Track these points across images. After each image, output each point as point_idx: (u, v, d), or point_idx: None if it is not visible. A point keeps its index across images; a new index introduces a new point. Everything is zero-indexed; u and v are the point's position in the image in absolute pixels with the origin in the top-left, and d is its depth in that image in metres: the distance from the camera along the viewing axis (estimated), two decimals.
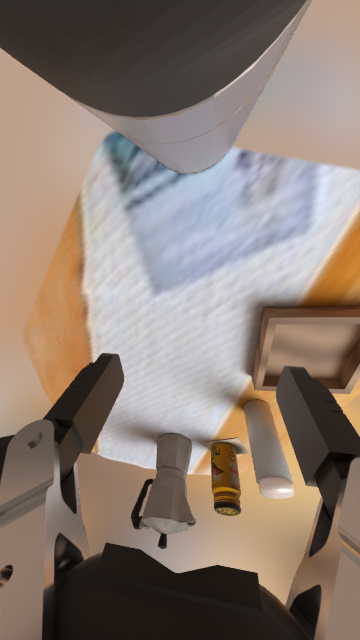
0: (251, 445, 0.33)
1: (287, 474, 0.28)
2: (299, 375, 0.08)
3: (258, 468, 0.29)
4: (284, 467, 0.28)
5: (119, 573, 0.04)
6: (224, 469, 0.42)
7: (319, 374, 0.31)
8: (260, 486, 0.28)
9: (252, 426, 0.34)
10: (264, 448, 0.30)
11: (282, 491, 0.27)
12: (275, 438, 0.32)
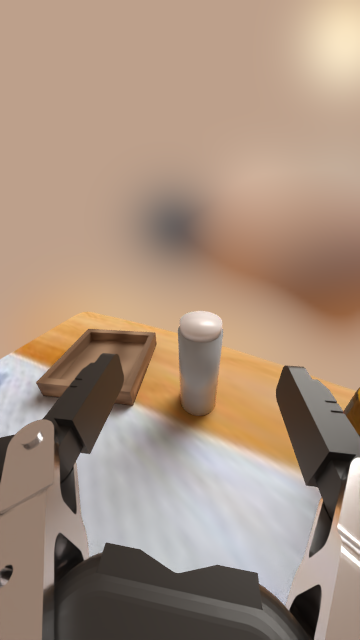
0: (194, 375, 0.22)
1: None
2: (299, 375, 0.08)
3: (187, 349, 0.21)
4: None
5: (119, 573, 0.04)
6: None
7: (140, 353, 0.36)
8: (194, 335, 0.19)
9: (185, 386, 0.24)
10: (179, 357, 0.23)
11: (194, 317, 0.22)
12: None
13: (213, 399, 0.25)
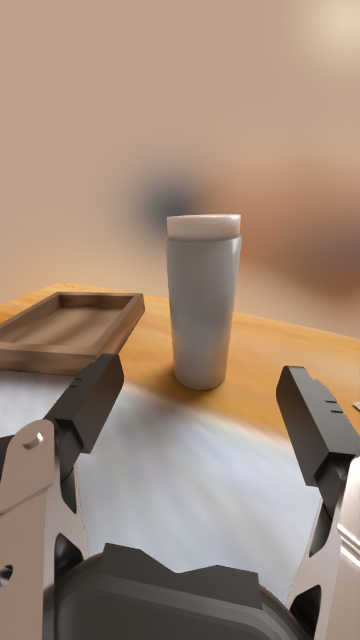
0: (193, 315, 0.13)
1: None
2: (299, 375, 0.08)
3: (180, 261, 0.12)
4: None
5: (119, 573, 0.04)
6: None
7: None
8: (192, 225, 0.11)
9: (179, 341, 0.15)
10: (169, 290, 0.14)
11: None
12: None
13: (223, 364, 0.16)
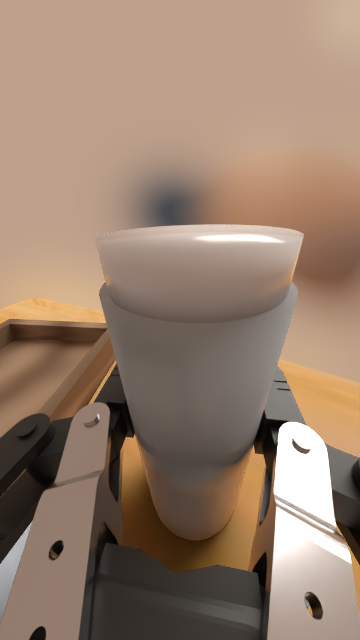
0: (172, 460, 0.06)
1: None
2: None
3: (131, 362, 0.04)
4: None
5: (119, 573, 0.04)
6: None
7: None
8: (155, 273, 0.03)
9: (149, 476, 0.08)
10: None
11: (172, 230, 0.05)
12: None
13: (236, 498, 0.09)
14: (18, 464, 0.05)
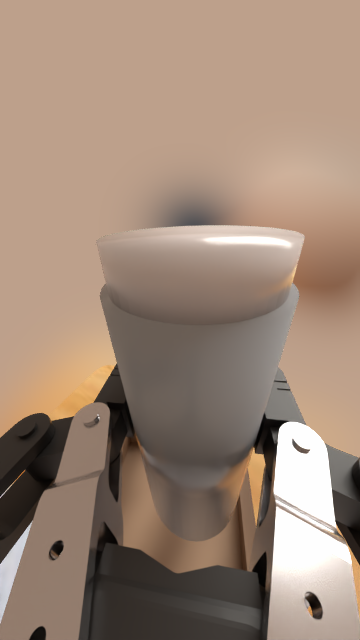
0: (173, 461, 0.06)
1: None
2: None
3: (132, 362, 0.04)
4: None
5: (119, 573, 0.04)
6: None
7: None
8: (155, 275, 0.03)
9: (150, 477, 0.08)
10: None
11: (173, 231, 0.05)
12: None
13: (236, 499, 0.09)
14: (18, 464, 0.05)
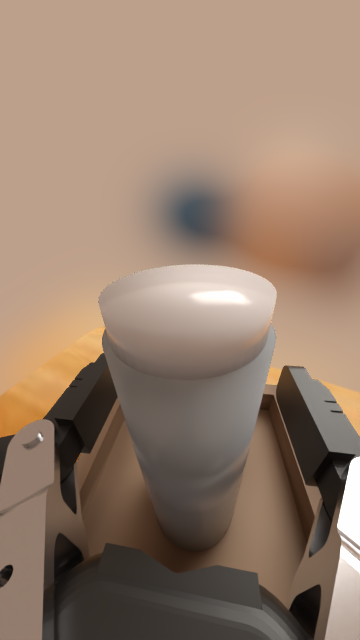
0: (169, 483, 0.06)
1: None
2: (299, 375, 0.08)
3: (130, 404, 0.05)
4: None
5: (119, 573, 0.04)
6: None
7: (265, 445, 0.14)
8: (147, 343, 0.04)
9: (150, 493, 0.08)
10: None
11: (166, 278, 0.06)
12: None
13: (232, 512, 0.09)
14: None
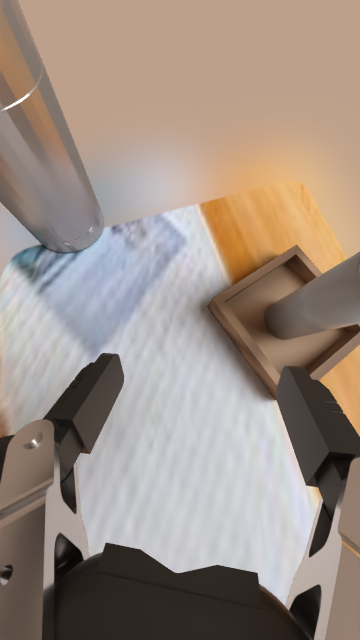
0: (310, 310, 0.17)
1: None
2: (299, 375, 0.08)
3: (341, 286, 0.14)
4: None
5: (119, 573, 0.04)
6: None
7: (327, 339, 0.25)
8: None
9: (287, 307, 0.20)
10: (317, 280, 0.17)
11: None
12: None
13: (297, 337, 0.22)
14: None
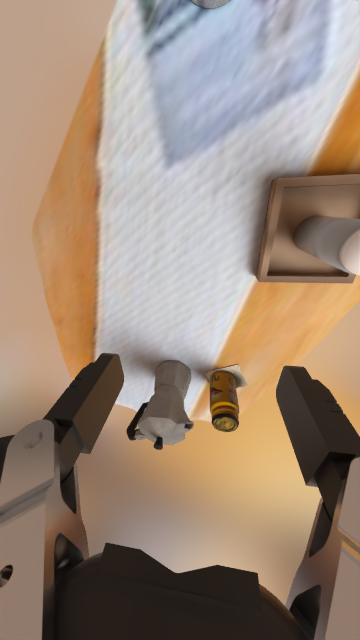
0: (318, 237, 0.23)
1: None
2: (299, 375, 0.08)
3: (339, 234, 0.20)
4: None
5: (119, 573, 0.04)
6: (223, 389, 0.42)
7: (323, 267, 0.32)
8: (347, 245, 0.18)
9: (315, 225, 0.25)
10: (344, 220, 0.21)
11: None
12: None
13: None
14: None
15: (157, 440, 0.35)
